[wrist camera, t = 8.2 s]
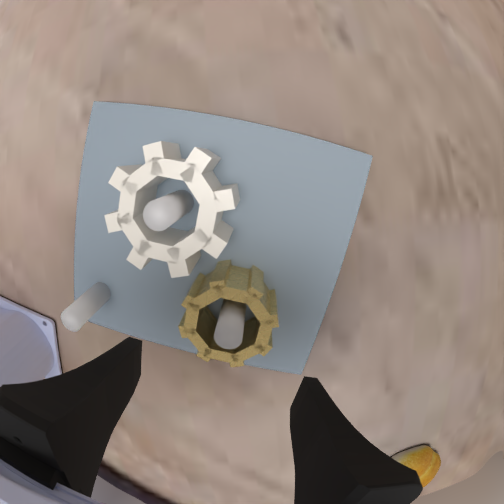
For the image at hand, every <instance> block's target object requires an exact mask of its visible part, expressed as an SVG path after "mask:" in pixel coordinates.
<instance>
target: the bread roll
mask: <svg viewBox="0 0 504 504" xmlns="http://www.w3.org/2000/svg"><path fill="white" fill-rule="evenodd" d="M391 458H393V459H394V460H396V461H397V462H399V463H401V464H403V465H405V466H407V467H409V468H411V469H413V470H415V471H417V473H418V476H419V478H420V481H421V484H422V486H423V487H425V486H426V485H427V484H428V483H429V482H430V481H431V480H432V479H433V478H434V476H435V475H436V473H437V472H438V470H439V467H440V465H441V460H440V456H439V455H438V454H437V453H436V452H434V451H433V450H432V448H431V447H429V446H426V445H421V446H416V447H414V448H410V449H408V450H405V451H402V452H399V453H397V454H396V455H394V456H392V457H391Z"/></svg>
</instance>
